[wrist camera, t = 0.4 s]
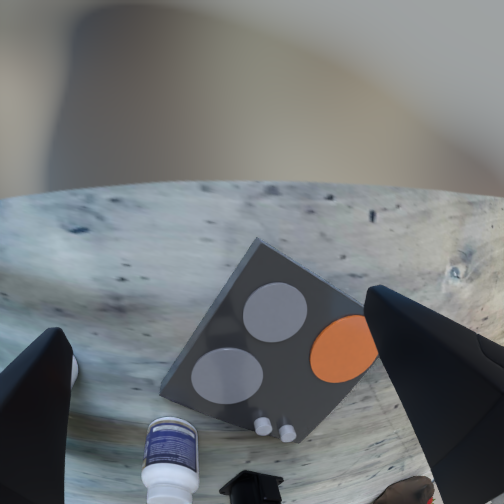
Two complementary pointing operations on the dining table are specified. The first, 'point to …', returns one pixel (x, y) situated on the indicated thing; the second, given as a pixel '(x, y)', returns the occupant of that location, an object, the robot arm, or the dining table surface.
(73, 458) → the dining table surface
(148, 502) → the pill bottle
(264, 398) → the hob
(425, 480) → the rock
